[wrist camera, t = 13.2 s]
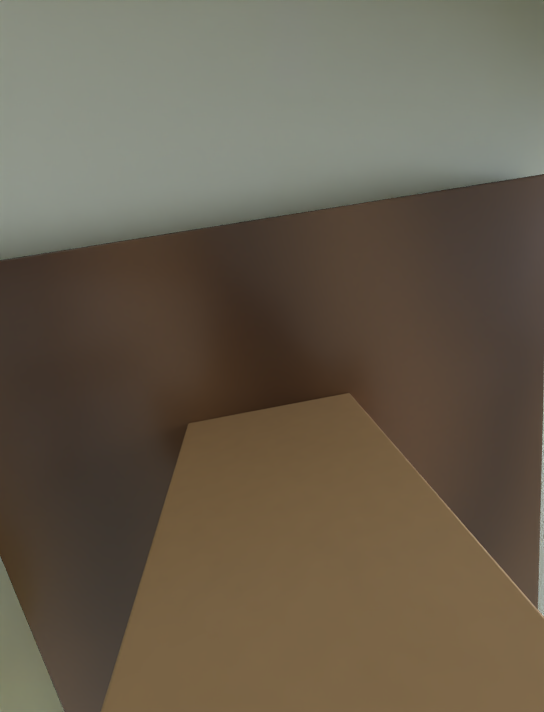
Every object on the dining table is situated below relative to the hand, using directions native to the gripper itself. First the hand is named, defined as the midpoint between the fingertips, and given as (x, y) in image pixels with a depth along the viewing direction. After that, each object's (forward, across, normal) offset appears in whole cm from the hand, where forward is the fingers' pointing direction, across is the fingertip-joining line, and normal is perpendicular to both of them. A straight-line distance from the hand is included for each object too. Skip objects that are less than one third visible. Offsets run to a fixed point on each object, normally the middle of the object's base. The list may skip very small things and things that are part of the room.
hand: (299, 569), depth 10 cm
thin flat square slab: (+4, 0, 0) cm, 4 cm away
